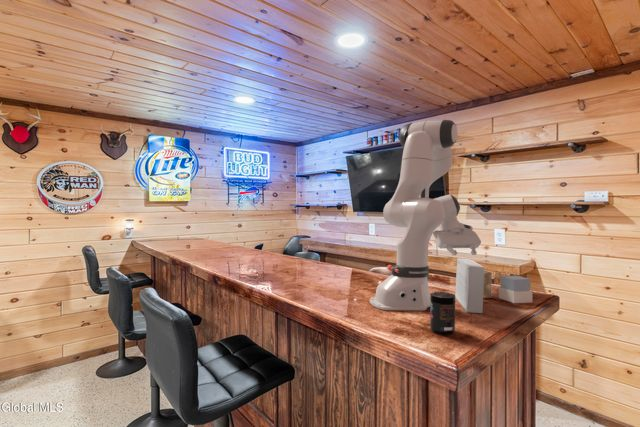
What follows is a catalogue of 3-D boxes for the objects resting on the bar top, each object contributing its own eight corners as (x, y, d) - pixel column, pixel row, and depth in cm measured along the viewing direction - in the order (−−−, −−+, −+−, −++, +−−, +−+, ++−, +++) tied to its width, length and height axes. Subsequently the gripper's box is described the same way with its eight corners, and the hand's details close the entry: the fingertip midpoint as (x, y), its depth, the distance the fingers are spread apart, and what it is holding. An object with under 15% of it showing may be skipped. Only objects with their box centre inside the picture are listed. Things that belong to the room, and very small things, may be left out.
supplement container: (445, 326, 100) (445, 291, 100) (460, 334, 93) (460, 297, 93) (425, 328, 98) (425, 292, 98) (439, 336, 91) (439, 298, 91)
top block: (513, 291, 126) (513, 279, 126) (500, 287, 132) (500, 275, 132) (529, 290, 127) (530, 279, 127) (516, 286, 134) (516, 275, 134)
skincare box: (484, 314, 112) (485, 266, 111) (467, 313, 113) (467, 266, 112) (469, 298, 132) (470, 257, 132) (455, 297, 133) (455, 257, 133)
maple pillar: (480, 298, 132) (481, 272, 132) (473, 295, 136) (473, 270, 136) (491, 297, 133) (491, 272, 133) (483, 294, 137) (483, 270, 137)
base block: (513, 304, 125) (514, 292, 125) (498, 298, 133) (498, 287, 133) (532, 303, 126) (532, 291, 126) (516, 297, 134) (516, 286, 134)
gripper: (434, 226, 151) (446, 250, 142) (474, 226, 155) (488, 249, 146) (429, 235, 156) (440, 259, 146) (468, 234, 160) (482, 258, 150)
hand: (464, 254), depth 146 cm, fingers open, 8 cm apart
